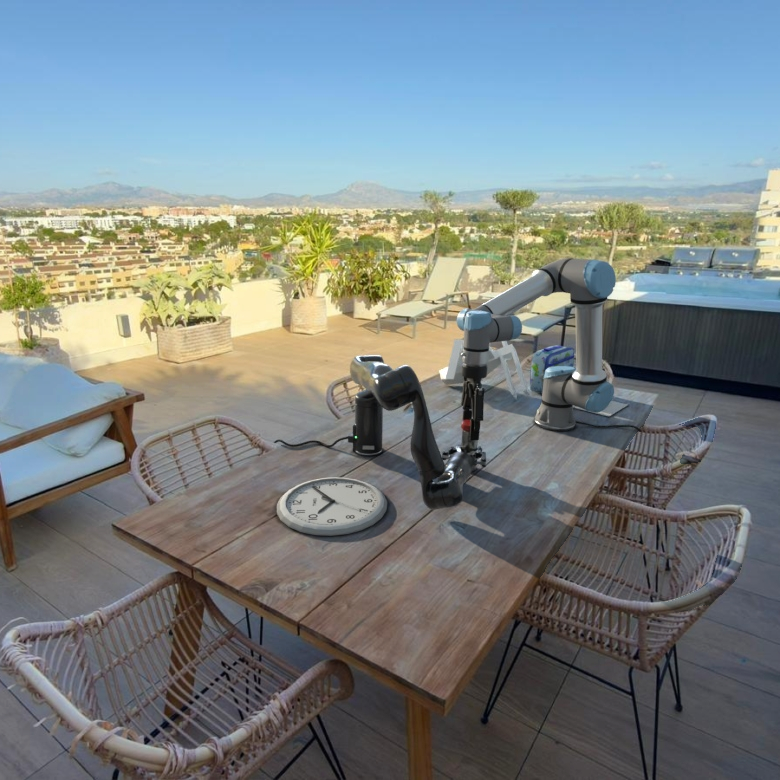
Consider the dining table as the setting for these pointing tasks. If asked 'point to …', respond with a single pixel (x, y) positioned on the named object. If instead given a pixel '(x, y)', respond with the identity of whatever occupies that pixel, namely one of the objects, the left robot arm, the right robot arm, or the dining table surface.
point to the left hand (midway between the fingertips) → (470, 447)
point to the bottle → (468, 444)
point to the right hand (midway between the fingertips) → (470, 434)
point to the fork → (408, 406)
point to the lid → (466, 425)
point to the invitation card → (609, 408)
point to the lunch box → (548, 363)
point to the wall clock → (331, 506)
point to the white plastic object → (495, 359)
